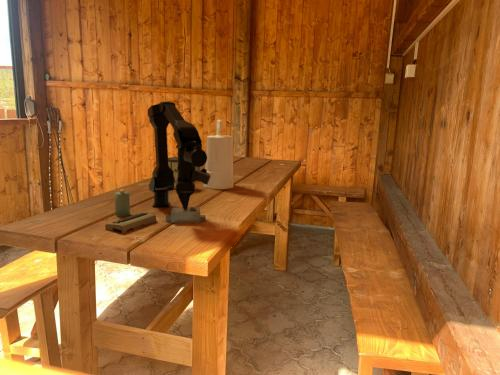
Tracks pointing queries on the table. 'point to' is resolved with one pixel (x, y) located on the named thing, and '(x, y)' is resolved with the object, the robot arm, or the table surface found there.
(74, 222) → the table surface
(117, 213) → the cylinder
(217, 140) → the paper towel roll holder
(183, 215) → the housing
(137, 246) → the table surface
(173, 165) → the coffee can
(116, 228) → the computer
